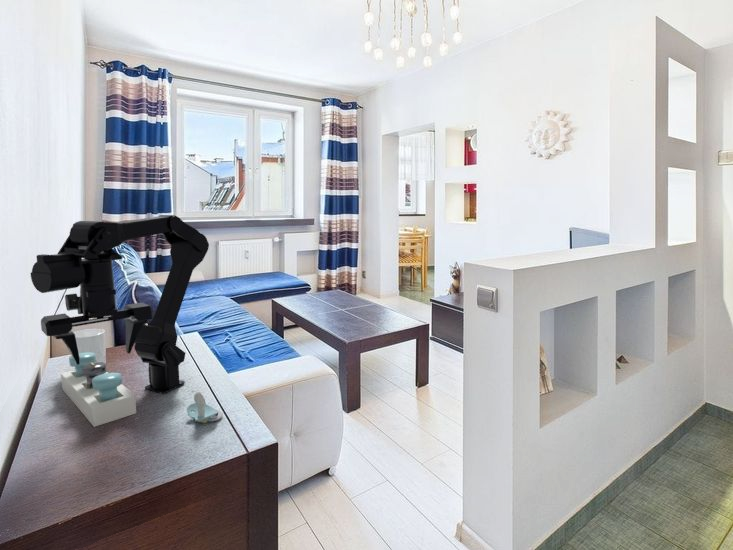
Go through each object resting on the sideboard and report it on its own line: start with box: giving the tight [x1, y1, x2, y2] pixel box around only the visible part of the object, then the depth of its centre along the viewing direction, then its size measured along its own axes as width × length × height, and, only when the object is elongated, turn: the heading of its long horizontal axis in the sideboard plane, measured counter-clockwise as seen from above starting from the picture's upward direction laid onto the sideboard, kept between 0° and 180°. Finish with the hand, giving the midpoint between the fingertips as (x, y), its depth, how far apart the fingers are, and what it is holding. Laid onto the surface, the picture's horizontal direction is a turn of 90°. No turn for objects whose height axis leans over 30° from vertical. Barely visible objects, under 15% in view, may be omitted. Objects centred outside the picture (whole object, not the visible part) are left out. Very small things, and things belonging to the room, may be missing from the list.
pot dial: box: [81, 362, 108, 389], centre depth 94 cm, size 5×5×5 cm
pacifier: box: [186, 391, 223, 424], centre depth 87 cm, size 7×6×6 cm
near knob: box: [92, 372, 123, 402], centre depth 88 cm, size 5×5×5 cm
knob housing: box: [60, 369, 137, 428], centre depth 94 cm, size 25×8×4 cm, turn 47°
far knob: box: [68, 352, 96, 377], centre depth 100 cm, size 5×5×5 cm
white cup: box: [72, 328, 107, 370], centre depth 112 cm, size 8×8×10 cm
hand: (104, 358), depth 87 cm, fingers open, 9 cm apart
